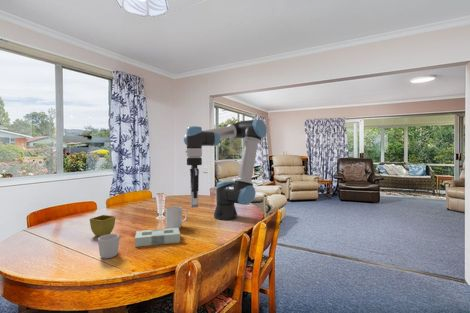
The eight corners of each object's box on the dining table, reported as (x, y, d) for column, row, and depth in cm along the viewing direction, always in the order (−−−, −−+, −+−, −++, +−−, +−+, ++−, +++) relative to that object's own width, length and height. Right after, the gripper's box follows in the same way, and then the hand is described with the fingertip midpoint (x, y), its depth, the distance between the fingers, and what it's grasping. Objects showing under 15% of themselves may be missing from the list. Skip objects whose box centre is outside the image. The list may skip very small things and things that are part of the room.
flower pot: (116, 233, 133) (116, 216, 132) (102, 238, 124) (102, 220, 124) (103, 231, 136) (103, 214, 135) (89, 236, 127) (88, 218, 127)
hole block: (178, 235, 129) (178, 227, 129) (180, 242, 120) (180, 233, 120) (136, 239, 124) (136, 231, 123) (134, 246, 114) (134, 238, 114)
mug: (167, 231, 136) (167, 210, 136) (164, 226, 144) (164, 207, 144) (189, 228, 141) (189, 208, 141) (184, 223, 149) (184, 205, 149)
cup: (106, 249, 111) (105, 231, 110) (124, 249, 111) (124, 231, 111) (94, 260, 100) (94, 240, 100) (115, 259, 101) (115, 240, 100)
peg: (197, 205, 130) (197, 182, 130) (198, 207, 127) (198, 183, 127) (190, 206, 129) (190, 182, 129) (191, 207, 126) (191, 183, 126)
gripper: (185, 156, 134) (185, 200, 135) (188, 157, 119) (188, 207, 119) (199, 156, 137) (199, 200, 137) (204, 157, 121) (204, 206, 122)
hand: (194, 203), depth 128 cm, fingers closed on peg, 3 cm apart
